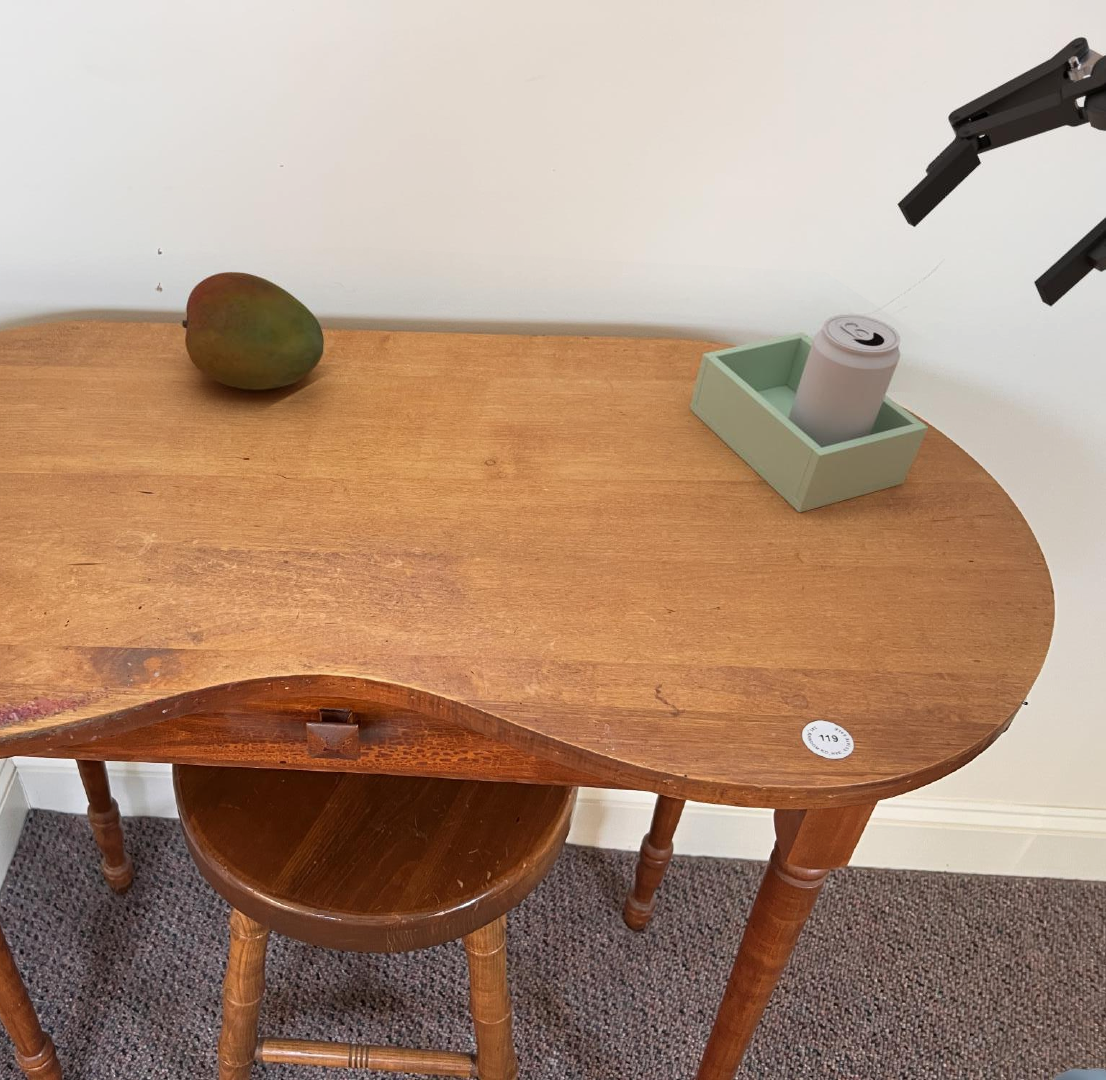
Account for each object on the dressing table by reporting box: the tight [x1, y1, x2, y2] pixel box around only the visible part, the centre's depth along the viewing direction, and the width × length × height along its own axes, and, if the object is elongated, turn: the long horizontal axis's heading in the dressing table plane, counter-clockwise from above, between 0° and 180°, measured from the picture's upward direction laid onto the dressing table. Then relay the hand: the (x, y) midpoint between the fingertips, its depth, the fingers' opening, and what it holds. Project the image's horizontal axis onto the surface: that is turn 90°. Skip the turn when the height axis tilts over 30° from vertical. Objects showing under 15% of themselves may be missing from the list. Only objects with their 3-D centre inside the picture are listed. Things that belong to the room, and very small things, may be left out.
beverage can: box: [788, 314, 901, 448], centre depth 83 cm, size 6×6×12 cm
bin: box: [689, 331, 929, 513], centre depth 88 cm, size 16×11×6 cm
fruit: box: [182, 271, 325, 391], centre depth 93 cm, size 12×12×10 cm
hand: (969, 253), depth 78 cm, fingers open, 13 cm apart
